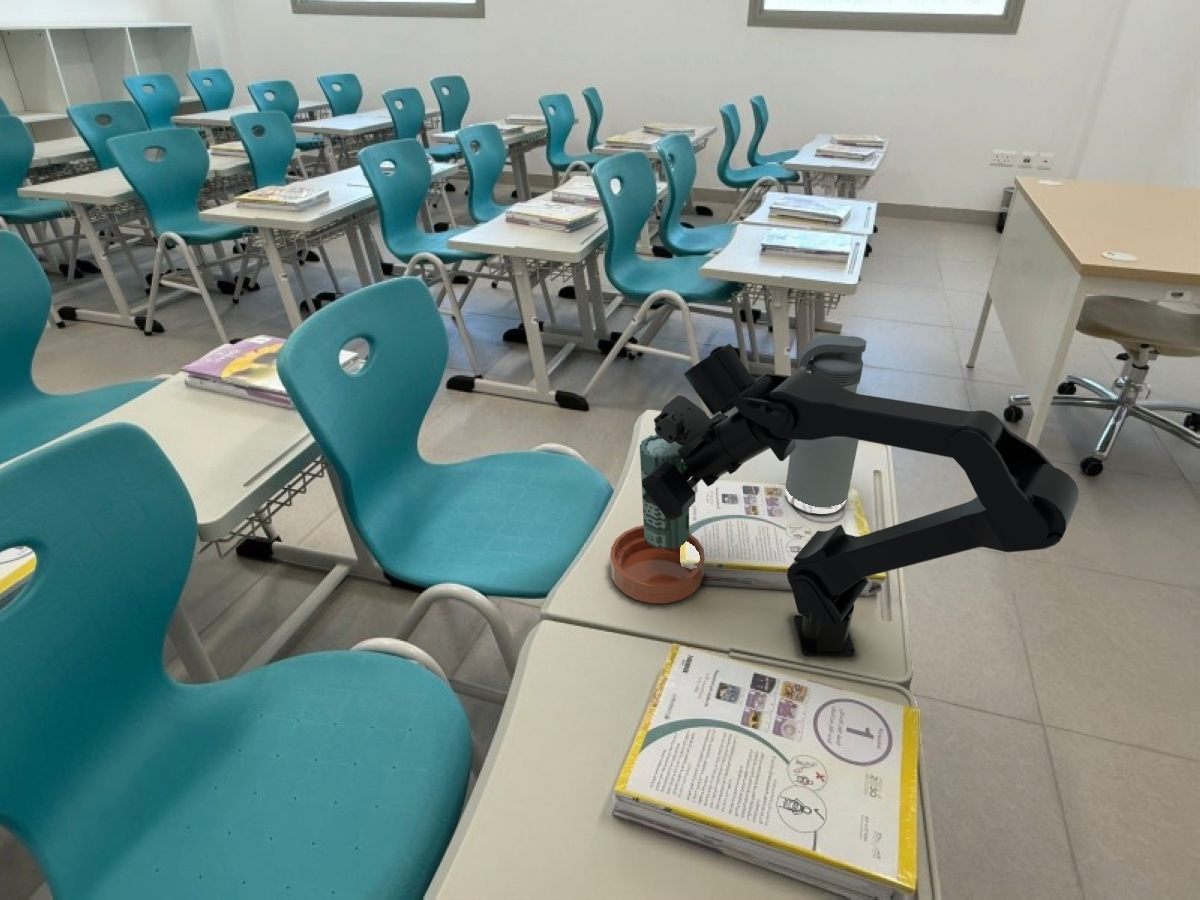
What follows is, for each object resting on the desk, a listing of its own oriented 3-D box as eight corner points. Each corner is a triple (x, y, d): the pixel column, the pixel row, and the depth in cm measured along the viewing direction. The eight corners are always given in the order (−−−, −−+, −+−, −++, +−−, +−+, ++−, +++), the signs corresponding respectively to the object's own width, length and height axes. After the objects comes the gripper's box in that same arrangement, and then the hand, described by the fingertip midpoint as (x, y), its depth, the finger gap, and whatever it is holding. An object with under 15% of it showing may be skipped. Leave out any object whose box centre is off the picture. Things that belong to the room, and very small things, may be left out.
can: (696, 533, 102) (696, 443, 94) (669, 554, 98) (667, 463, 91) (663, 516, 106) (660, 428, 98) (636, 537, 102) (631, 447, 94)
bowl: (706, 605, 98) (708, 586, 96) (609, 604, 98) (609, 585, 96) (699, 543, 109) (700, 524, 107) (612, 542, 109) (611, 523, 108)
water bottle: (779, 512, 115) (801, 351, 100) (783, 478, 123) (804, 324, 108) (846, 521, 112) (879, 357, 97) (846, 486, 120) (876, 329, 105)
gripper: (730, 359, 93) (657, 412, 105) (655, 419, 81) (581, 472, 92) (782, 427, 94) (703, 472, 105) (715, 498, 81) (634, 541, 92)
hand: (657, 487), depth 99 cm, fingers closed on can, 6 cm apart
